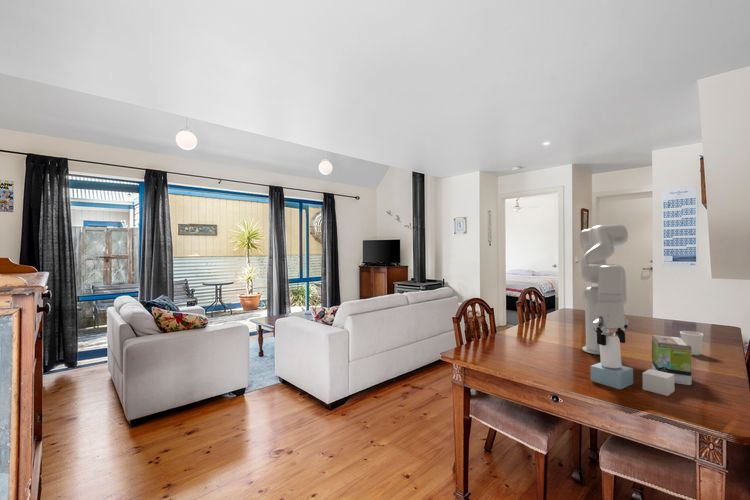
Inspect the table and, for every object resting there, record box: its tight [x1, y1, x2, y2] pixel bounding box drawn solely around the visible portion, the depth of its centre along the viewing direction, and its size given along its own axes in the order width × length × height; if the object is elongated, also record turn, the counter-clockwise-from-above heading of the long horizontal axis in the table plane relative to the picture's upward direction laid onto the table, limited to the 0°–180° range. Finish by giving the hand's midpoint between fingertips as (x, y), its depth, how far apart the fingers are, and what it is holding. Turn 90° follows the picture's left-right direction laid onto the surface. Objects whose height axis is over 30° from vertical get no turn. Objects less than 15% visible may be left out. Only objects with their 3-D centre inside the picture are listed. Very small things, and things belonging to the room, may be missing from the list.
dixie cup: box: [679, 330, 704, 356], centre depth 163 cm, size 8×8×10 cm
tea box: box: [651, 334, 693, 386], centre depth 133 cm, size 15×10×15 cm
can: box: [599, 332, 623, 369], centre depth 129 cm, size 6×6×12 cm
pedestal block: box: [590, 361, 634, 390], centre depth 129 cm, size 10×10×6 cm
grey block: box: [641, 368, 676, 397], centre depth 121 cm, size 7×7×6 cm
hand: (611, 343), depth 129 cm, fingers open, 9 cm apart
